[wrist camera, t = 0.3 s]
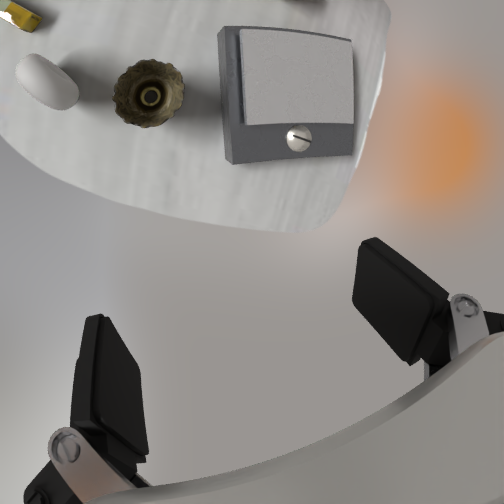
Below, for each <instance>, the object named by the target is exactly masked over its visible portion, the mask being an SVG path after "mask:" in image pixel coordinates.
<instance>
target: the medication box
mask: <svg viewBox="0 0 504 504" xmlns="http://www.w3.org/2000/svg"><path fill="white" fill-rule="evenodd" d="M0 17H1V18H2V19H4V20H6V21H8V22H9V23H11V24H13V25H14V26H16V27H18V28H19V29H21V30H23V31H26V32H30V33H32V31H33V30H34V29H35V28H36V27H37V25H38V24H39V23H40V21H41V20H42V18H41V17H39V16H38V15H36V14H35V13H33V12H31V11H29V10H28V9H26V8H24V7H22V6H20V5H18V4H17V3H15V2H13V1H11V0H0Z"/></svg>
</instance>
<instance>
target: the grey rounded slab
mask: <svg viewBox="0 0 504 504" xmlns="http://www.w3.org/2000/svg"><path fill="white" fill-rule="evenodd" d="M16 78H17V81H18V82H19V84H20V85H21V87H22V88H23V89H24V90H25V91H26V92H28V93H29V94H30V95H31V96H32V97H34V98H35V99H36V100H38V101H39V102H41V103H43V104H44V105H46V106H48V107H50V108H53V109H56V110H66V109H69V108H71V107H72V106H73V105H74V104H76V102H77V100H78V98H79V89H78V86H77V85H76V83H75V82H74V81H73V80H72V79H71V78H70V77H69V76H68V75H67V74H66V73H65V72H63V71H62V70H61V69H60V68H59V67H57V66H56V65H55V64H53V63H52V62H50V61H49V60H47V59H46V58H44V57H42V56H40V55H38V54H29V55H27V56H26V57H24V58H22V60H21V61H20V62H19V63H18V65H17V67H16Z"/></svg>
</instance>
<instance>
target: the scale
mask: <svg viewBox="0 0 504 504" xmlns="http://www.w3.org/2000/svg"><path fill="white" fill-rule="evenodd" d="M241 29H259V30H275V31H286V32H295V33H303V34H311V35H317V36H323V37H329V38H334V39H339V40H344V41H349V42H351V40H350V39H346V38H341V37H337V36H331V35H326V34H320V33H314V32H308V31H300V30H292V29H283V28H271V27H254V26H224V27H223V28H222V29H221V30H220V32H219V33H218V34H217V36H218V55H219V72H220V88H221V103H222V118H223V132H224V145H225V158H226V160H227V161H229V162H230V163H231V164H233V165H234V164H242V163H251V162H260V161H269V160H280V159H291V158H304V157H320V156H341V155H352V147H353V124H350V123H276V124H257V125H245V122H244V105H243V87H242V69H241V51H240V33H239V31H240V30H241Z"/></svg>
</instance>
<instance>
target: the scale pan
mask: <svg viewBox="0 0 504 504" xmlns="http://www.w3.org/2000/svg"><path fill="white" fill-rule="evenodd" d="M239 33H240V51H241V69H242V87H243V105H244V122H245V125H257V124H276V123H350V124H354V82H353V55H352V42H349V41H344V40H339V39H334V38H329V37H323V36H317V35H311V34H303V33H295V32H286V31H275V30H259V29H241V30H240V31H239Z"/></svg>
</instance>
